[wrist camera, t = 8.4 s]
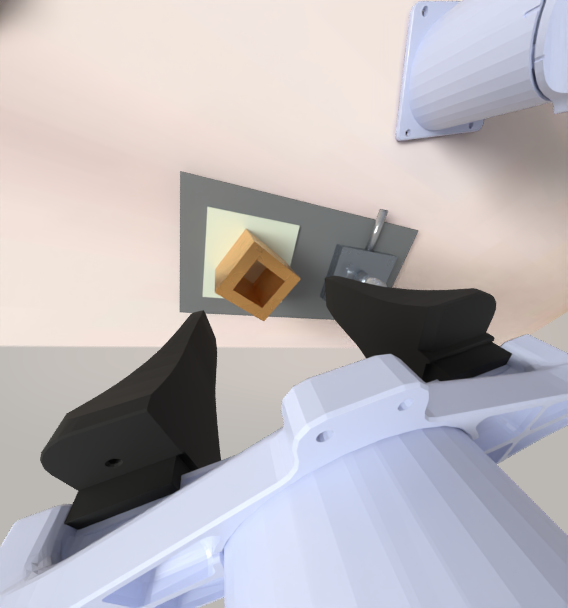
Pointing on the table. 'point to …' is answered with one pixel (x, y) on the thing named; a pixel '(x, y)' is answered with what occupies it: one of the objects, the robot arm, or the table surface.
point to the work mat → (269, 243)
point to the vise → (363, 260)
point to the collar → (268, 285)
